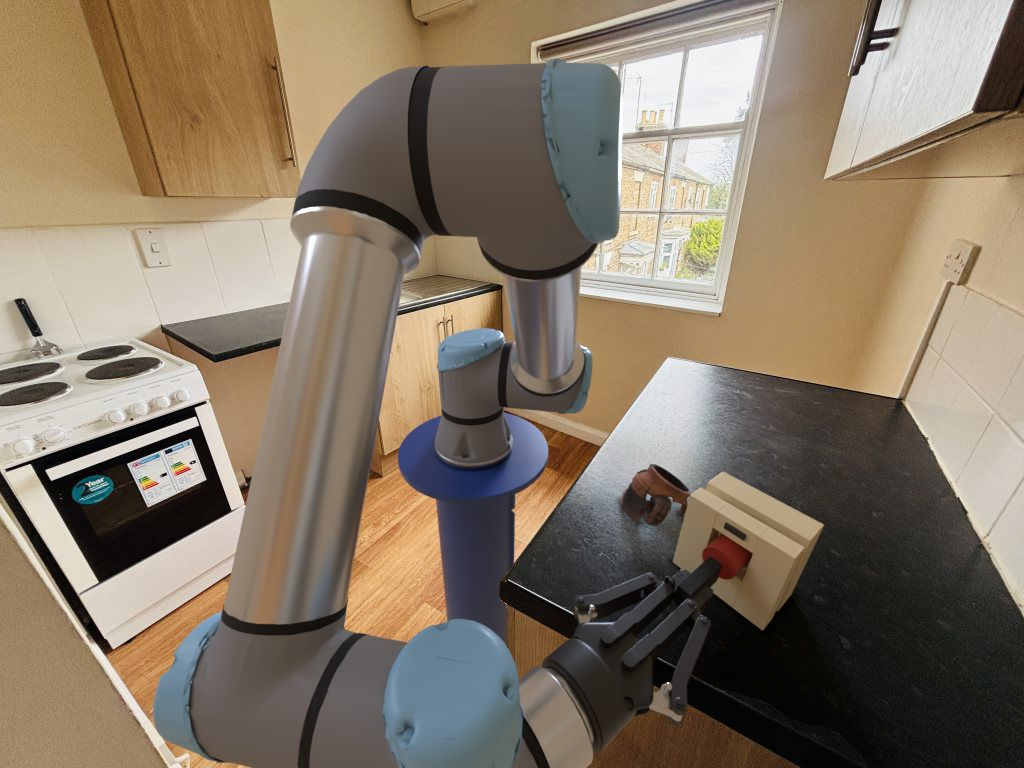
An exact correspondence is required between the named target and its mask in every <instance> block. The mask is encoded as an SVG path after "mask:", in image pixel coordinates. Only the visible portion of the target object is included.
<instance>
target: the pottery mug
mask: <svg viewBox="0 0 1024 768" xmlns="http://www.w3.org/2000/svg"><path fill="white" fill-rule="evenodd" d="M691 494H692V493H690V489H689V488H688V487H687V486H686V485H685V483H684V482H683V481H682V480H681V479H679V478H678V477H677V476H676V475H674V474H673V473H672V472H671V471H668V470H667V469H666V468H664V467H662V466H660V465H658V464H655V463H650V464H649V466H648V468H644V469H641V470H639V471H637V472H636V474H635V475H634V476H633V477H632V479H631V482H630V483H629V484H628V486H627V488H625V489H624V490H623V492H622V495H621V498H620V502H619V504H620V506H621V508H622V511H623V512H624V513H625V514H626V516H627V517H628V518H629V519H631V521H633V522H634V523H635V524H638V523H639V521H640V519H641V518H642V519H643V521H644V523H645V524H647V525H649V526H659V525H660V524H661V523H662V522H664V520H665V519H666V518H667V516H668V514H669V513H670V512H671V510H672V505H673V503H677V504H680V508H679V510H678V513H679V514H678V515H680V516H681V517H685V513H686V509H687V506H688V498H690V495H691ZM647 496H650V497H649V499H647ZM670 498H671V499H672V500H671V499H670Z"/></svg>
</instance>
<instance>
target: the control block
mask: <svg viewBox="0 0 1024 768" xmlns="http://www.w3.org/2000/svg"><path fill="white" fill-rule="evenodd" d="M690 494H691V495H690V496H689V497H688V498H689V499H688V501H687V503H688V504H687V509H686V513H685V514H684V516H683V517H684V518H683V521H682V524H681V528H680V532H679V536H678V540H677V544H676V546H675V547H676V548H675V551H674V555H673V559H672V563H673V564H675V565H676V566H677V567H679V568H680V570H683V569H686V570H687V571H688V572H690V573H692V572H693V571H694V570H695V569H696V568H698V567H699V566H700V565H701V564H702V563H703V562H704V561H703V558H702V553H703V550H704V549H705V548H706V547H707V546H708V545H709V544H710V543H712V542H713V541H714V540H715V539H716V538H717V537H718V536H719V535H721V534H724V535H725V536H727V537H728V538H730V539H731V540H733V541H735V542H736V543H738V544H739V545H741V546H742V547H744V548H745V549H747V550H749V551H750V552H752V558H751V560H750V561H749V562H748V563H747V564H746V565H745V566H744V567H743V568H742V569H741V571H740V572H739V573H738V574H737V575H736V576H735V577H734V578H732V579H729V580H726V579H722V578H719V577H718V580H717V582H716V583H715V584H714V585H712V586H711V587H710V588H711V589H712V590H714V591H713V595H715V596H716V597H718V598H719V599H721V600H722V601H723V602H724V603H725V604H727V605H728V606H729V607H731V608H732V609H733V610H735V612H737V613H739V614H740V615H741V616H743V617H744V618H745V619H747V620H748V621H749V622H750V623H752V624H753V625H754V626H755V627H757V628H758V629H759V630H761V631H764V630H765V629H766V627H767V626H768V625H769V624H770V622H771V621H772V620H773V618H774V616H775V614H776V612H779V611H780V609H782V607H783V606H784V604H785V603H786V602H787V601H788V599H789V598H790V597H791V596H792V594H793V592H794V590H795V588H796V586H797V583H798V581H799V579H800V577H801V575H802V573H803V571H804V569H805V567H806V565H807V563H808V561H809V558H810V557H811V554H812V552H813V550H814V548H815V546H816V544H817V541H818V539H819V537H820V536H821V533H822V531H823V529H824V527H825V524H824V523H822V522H820V521H818V520H816V519H814V518H813V517H811V516H809V515H807V514H805V513H803V512H801V511H799V510H797V509H795V508H794V507H792V506H789V505H787V504H786V503H784V502H782V501H780V500H778V499H777V498H775V497H772V496H771V495H768V494H767V493H765V492H763V491H761V490H759V489H758V488H756V487H755V486H752V485H750V484H748V483H746V482H744V481H742V480H740V479H738V478H736V477H734V476H733V475H731V474H729V473H727V472H725V471H722V472H720V473H719V474H717V475H716V476H714V477H713V478H711V479H710V480H709V481H707V483H706V486H705V488H703V487H699V488H698V489H696V490H695V491H694V492H692V493H690Z"/></svg>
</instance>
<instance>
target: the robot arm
mask: <svg viewBox="0 0 1024 768" xmlns="http://www.w3.org/2000/svg"><path fill="white" fill-rule="evenodd" d="M622 156H623V89H622V84H621V80H620V78H619V76H618V74H617V73H616V71H615V70H614V69H613V68H611V67H610V66H609V65H607V64H604V63H598V62H567V61H566V60H564V59H562V58H557V57H556V58H551V59H549V60H547V61H546V62H543V63H542V62H540V63H539V62H537V63H536V62H535V63H507V64H477V65H476V64H475V65H473V64H472V65H446V66H445V65H444V66H429V65H416V66H407V67H402V68H399V69H398V68H397V69H395V70H394V71H390V72H389V73H387V74H384V75H382V76H380V77H378V78H377V79H376V80H374V81H372V82H370V83H369V84H368V85H366V86H365V87H363V88H361V89H360V91H359V92H358V93H356V94H355V96H353V97H352V99H351V100H350V101H349V102H347V104H346V105H345V106H344V107H342V109H341V110H340V112H339V113H338V114H337V115H336V117H335V118H334V119H333V120H332V121H331V123H330V125H329V126H328V127H327V129H326V130H325V132H324V133H323V135H322V137H321V138H320V140H319V142H318V143H317V145H316V146H315V148H314V151H313V153H312V155H311V157H310V158H309V160H308V162H307V164H306V166H305V169H304V171H303V174H302V176H301V179H300V182H299V184H298V187H297V191H296V196H295V199H294V203H293V209H292V212H291V213H292V214H291V218H290V222H289V228H290V231H291V233H292V235H293V237H294V238H295V239H296V241H297V242H298V244H299V245H300V246H301V248H300V252H299V257H298V262H297V266H296V270H295V275H294V279H293V285H292V289H291V293H290V299H289V303H288V307H287V311H286V312H287V313H286V317H285V322H284V327H283V332H282V335H281V341H280V345H279V349H278V355H277V358H276V363H275V367H274V373H273V378H272V382H271V386H270V392H269V396H268V401H267V405H266V410H265V415H264V419H263V424H262V428H261V433H260V438H259V442H258V446H257V452H256V456H255V461H254V465H253V471H252V475H251V479H250V484H249V488H248V493H247V498H246V502H245V508H244V510H243V511H244V512H243V517H242V520H241V525H240V530H239V535H238V539H237V540H238V541H237V544H236V549H235V553H234V557H233V564H232V567H231V572H230V578H229V581H228V585H227V591H226V595H225V600H224V604H223V606H222V610H221V611H219V612H217V613H215V614H213V615H211V616H209V617H208V618H206V619H204V620H203V621H202V622H201V623H199V624H198V625H197V626H196V627H194V628H193V629H192V630H191V632H189V634H187V636H185V638H184V639H183V640H182V641H181V642H180V644H179V645H178V647H177V648H176V649H175V650H174V653H173V656H174V660H173V662H172V664H171V665H170V667H169V668H168V669H167V671H166V672H163V674H162V675H161V676H160V678H159V680H158V683H157V686H156V690H155V693H154V697H153V703H152V718H153V723H154V728H155V729H156V731H157V733H158V735H159V736H160V737H161V738H162V739H163V740H164V741H166V742H167V743H170V744H172V745H174V746H177V747H180V748H182V749H184V750H187V751H189V752H191V753H193V754H194V753H195V754H197V755H199V756H200V757H202V758H204V759H205V760H208V761H211V762H215V763H217V764H223V763H224V764H225V763H227V764H235V765H238V766H243V767H247V768H588V767H589V766H590V765H591V764H592V762H593V760H594V754H601V753H602V752H603V751H604V750H605V749H606V747H607V746H608V745H610V743H611V742H612V741H613V740H614V739H615V738H616V737H617V736H618V734H620V732H621V731H622V730H623V729H624V728H625V727H626V726H627V725H628V723H630V721H631V720H632V719H634V718H636V717H639V716H645V715H647V714H648V713H649V712H650V710H652V711H654V712H656V713H659V714H662V715H664V716H666V718H667V720H668V722H669V723H670V724H671V725H672V726H674V727H679V726H681V724H682V723H683V720H684V717H685V715H686V712H687V710H688V685H689V682H690V679H691V676H692V674H693V671H694V669H695V667H696V664H697V662H698V659H699V656H700V654H701V651H702V649H703V647H704V644H705V642H706V639H707V636H708V634H709V630H710V628H711V625H712V623H711V620H710V618H709V617H708V616H705V615H703V613H702V611H704V610H705V609H706V608H707V607H708V606H709V604H711V601H712V598H713V595H714V593H713V591H714V590H712V589H711V588H710V587H711V586H712V585H714V584H715V583H716V582H717V580H718V577H719V574H720V571H721V568H722V564H721V563H720V562H718V561H717V560H715V559H714V558H712V557H711V556H710V557H709V558H708V559H706V560H705V561H704V562H703V563H702V564H701V565H700V566H699V567H698V568H696V569H695V570H694V571H693V572H692V573H690V572H688V571H687V570H686V569H680V570H679V571H678V572H676V574H674V575H673V576H670V575H669V576H668V575H667V576H665V578H664V580H660V579H658V576H657V575H656V574H654V573H653V572H646V573H644V574H642V575H639V576H637V577H635V578H632V579H630V580H627V581H624V582H622V583H620V584H617V585H615V586H612V587H610V588H608V589H605V590H603V591H600V592H598V593H595V594H578V595H576V596H575V599H574V606H573V614H572V615H573V618H574V619H575V620H576V621H577V626H576V628H575V630H574V633H573V635H572V637H571V638H569V639H566V641H564V642H563V643H562V644H561V645H560V646H558V647H557V648H556V649H555V650H553V651H552V652H551V653H550V654H549V655H547V656H546V657H545V658H544V659H543V660H542V662H541V666H538V665H536V666H533V667H532V668H531V669H529V671H527V672H526V673H525V674H524V675H523V676H522V677H520V678H519V674H518V669H517V666H516V665H517V664H516V662H515V660H514V657H513V656H512V653H511V651H510V648H509V649H508V648H507V646H506V644H505V643H504V642H503V640H502V639H501V638H500V637H499V636H498V635H497V634H496V633H495V632H493V631H492V630H491V629H489V628H488V627H486V626H485V625H482V624H480V623H478V622H475V621H472V620H467V619H453V620H450V621H448V622H447V621H444V622H441V623H438V624H431V625H429V626H427V627H425V628H423V629H421V630H420V631H419V632H417V634H415V635H414V636H412V637H411V639H410V640H408V642H407V641H403V640H396V639H391V638H386V637H382V636H381V637H380V636H375V635H372V634H367V633H363V632H356V631H352V630H348V629H346V628H345V623H346V618H347V609H348V603H349V591H350V587H351V581H352V575H353V570H354V565H355V564H354V563H355V557H356V552H357V547H358V540H359V536H360V535H359V534H360V529H361V523H362V518H363V512H364V508H365V507H364V506H365V501H366V496H367V495H366V494H367V490H368V484H369V478H370V472H371V466H372V461H373V454H374V449H375V443H376V437H377V432H378V428H379V427H378V426H379V422H380V415H381V411H382V405H383V397H384V393H385V386H386V381H387V375H388V369H389V365H390V364H389V363H390V358H391V354H392V353H391V352H392V348H393V341H394V336H395V330H396V324H397V319H398V313H399V308H400V301H401V296H402V290H403V284H404V280H405V279H404V278H405V275H406V274H408V273H410V272H412V271H414V270H416V269H417V268H418V266H419V265H420V261H421V257H422V250H423V244H424V242H425V241H426V240H427V239H428V238H430V237H431V236H439V237H458V238H459V237H460V238H461V237H462V238H476V239H477V243H478V247H479V249H480V252H481V254H482V257H483V258H484V260H485V261H486V262H487V264H489V266H490V267H491V268H493V270H495V271H496V272H498V273H499V274H501V279H502V283H503V289H504V294H505V298H506V303H507V308H508V313H509V318H510V322H511V327H512V331H513V336H514V341H506V338H505V336H504V333H503V332H502V331H500V330H498V329H494V328H472V329H467V330H463V331H459V332H456V333H453V334H451V335H449V336H447V337H446V338H444V339H443V340H442V341H441V342H440V343H439V345H438V347H437V364H436V370H437V373H438V374H437V375H438V386H439V387H438V388H439V397H440V398H439V400H440V409H441V415H442V416H441V415H440V416H441V419H440V423H439V426H438V430H437V434H436V437H435V441H434V446H435V454H436V456H437V458H438V459H439V460H440V461H441V462H442V463H443V464H445V465H447V466H449V467H451V468H454V469H458V470H464V471H478V470H485V469H489V468H492V467H495V466H497V465H499V464H501V463H502V462H504V461H505V460H506V459H507V458H508V457H509V456H510V455H511V453H512V449H513V437H512V433H511V431H510V428H509V425H508V423H507V420H506V417H505V415H504V413H505V412H504V408H505V409H507V408H508V409H518V410H528V411H537V412H548V413H557V414H559V415H566V414H573V415H574V414H579V413H580V412H582V411H583V410H584V408H585V406H586V404H587V401H588V397H589V391H590V388H591V382H592V377H593V376H592V375H593V363H594V362H593V361H594V360H593V359H594V358H593V353H592V351H591V349H590V348H588V347H585V346H583V345H581V344H580V342H579V341H578V339H577V330H578V317H579V305H580V303H579V302H580V292H581V279H582V268H583V266H584V265H585V264H586V263H587V262H588V261H589V260H590V259H591V258H592V257H593V255H594V253H595V252H596V251H597V248H598V246H599V245H600V244H603V243H604V242H607V241H612V240H614V239H615V238H616V237H617V236H618V234H619V232H620V231H619V230H620V221H621V203H622V202H621V199H622V196H621V195H622V168H623V167H622ZM672 601H673V603H674V605H676V606H677V608H675V609H674V610H673V611H672V612H671V613H669V615H668V616H667V617H666V618H665V619H664V620H663V621H662V622H661V623H660V624H659V625H657V627H656V628H654V629H653V630H652V631H651V632H650V633H646V634H645V635H644V636H643V637H642V638H641V639H639V638H637V637H638V636H639V634H641V633H642V632H643V631H644V630H645V629H646V628H647V627H648V626H649V625H650V624H651V623H652V622H654V620H656V618H657V617H659V616H660V615H661V614H662V613H663V612H664V611H665V610H666V609H667V608H668V607H669V606H670V605H671V604H672ZM635 604H637V605H636V606H635V607H633V609H631V610H630V611H629V612H625V613H623V615H622V616H620V617H619V618H618V619H617V620H616V621H597V620H600V619H604V618H606V617H608V616H610V615H613V614H615V613H617V612H619V611H621V610H625V609H627V608H629V607H632V606H634V605H635ZM688 628H689V629H690V630H691V633H690V635H689V637H688V639H687V641H686V644H685V646H684V648H683V650H682V653H681V655H680V657H679V660H678V662H677V664H676V667H675V669H674V672H673V675H672V676H671V679H670V680H671V681H670V682H665V683H662V684H661V687H660V688H659V690H657V691H654V664H655V662H656V660H658V658H659V657H661V655H663V653H664V652H665V651H667V649H668V648H669V647H670V646H671V645H672V644H673V643H674V642H676V641H677V639H678V638H679V637H680V636H681V635H682V634H683V633H684V632H685V631H686V630H687V629H688Z"/></svg>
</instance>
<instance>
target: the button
mask: <svg viewBox="0 0 1024 768" xmlns="http://www.w3.org/2000/svg"><path fill="white" fill-rule="evenodd" d="M710 556H711V557H712V558H714V559H715V560H717V561H718V562H720V563H721V564H722V568H721V571H720V574H719V578H722V579H726V580H729V579H732V578H734V577H735V576H736V575H737V574H738V573H739V572H740V571H741V569H742V568H743V567H744V566H745V565H746V564H747V563H748V562H749V561H750V560H751V558H752V552H750V551H749V550H747V549H745V548H744V547H742V546H741V545H739V544H738V543H736V542H735V541H733V540H731V539H730V538H728V537H727V536H725V535H724V534H721V535H719V536H718V537H717V538H716V539H715V540H714V541H713V542H712V543H710V544H709V545H708V546H707V547H706V548H705V549H704V550H703V553H702V558H703V561H705V560H706V559H708V558H709V557H710Z"/></svg>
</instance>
